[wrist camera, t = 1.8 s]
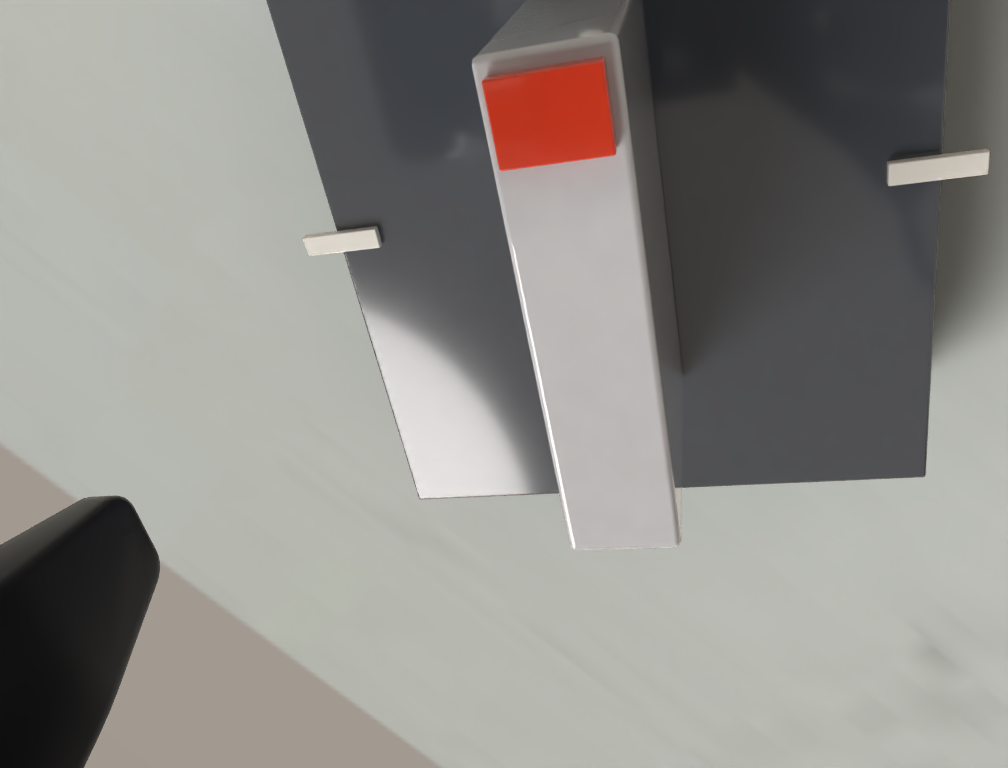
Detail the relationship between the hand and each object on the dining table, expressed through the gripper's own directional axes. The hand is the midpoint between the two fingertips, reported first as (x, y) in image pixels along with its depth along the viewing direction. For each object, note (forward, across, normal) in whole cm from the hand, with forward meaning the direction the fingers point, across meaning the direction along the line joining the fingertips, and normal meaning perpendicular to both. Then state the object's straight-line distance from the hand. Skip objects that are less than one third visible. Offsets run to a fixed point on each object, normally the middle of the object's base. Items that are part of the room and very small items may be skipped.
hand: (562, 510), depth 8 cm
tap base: (+11, 0, 0) cm, 11 cm away
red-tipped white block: (+8, 0, 0) cm, 8 cm away
